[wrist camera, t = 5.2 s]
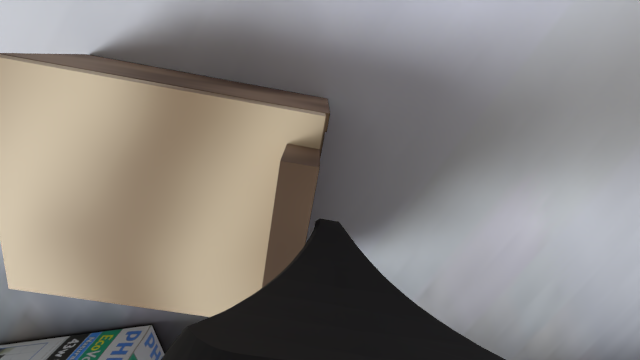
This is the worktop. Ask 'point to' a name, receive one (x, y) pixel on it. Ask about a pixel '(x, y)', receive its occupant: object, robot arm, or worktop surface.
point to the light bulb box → (90, 346)
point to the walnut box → (185, 81)
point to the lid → (148, 188)
